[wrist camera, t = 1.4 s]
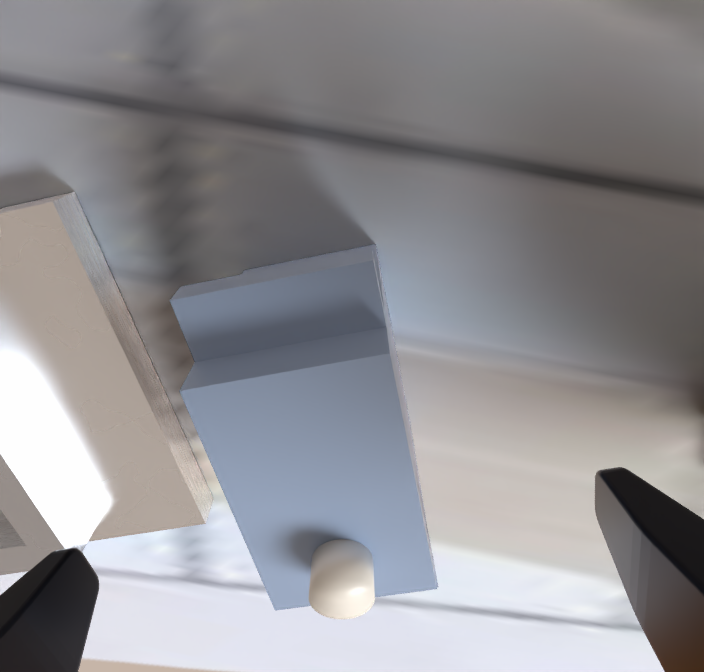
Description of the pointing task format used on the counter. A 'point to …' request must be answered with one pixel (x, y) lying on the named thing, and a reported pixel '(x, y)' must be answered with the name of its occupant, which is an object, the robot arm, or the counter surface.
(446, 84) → the counter surface
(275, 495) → the block
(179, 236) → the counter surface
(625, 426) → the counter surface
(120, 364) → the mount plate
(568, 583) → the counter surface
